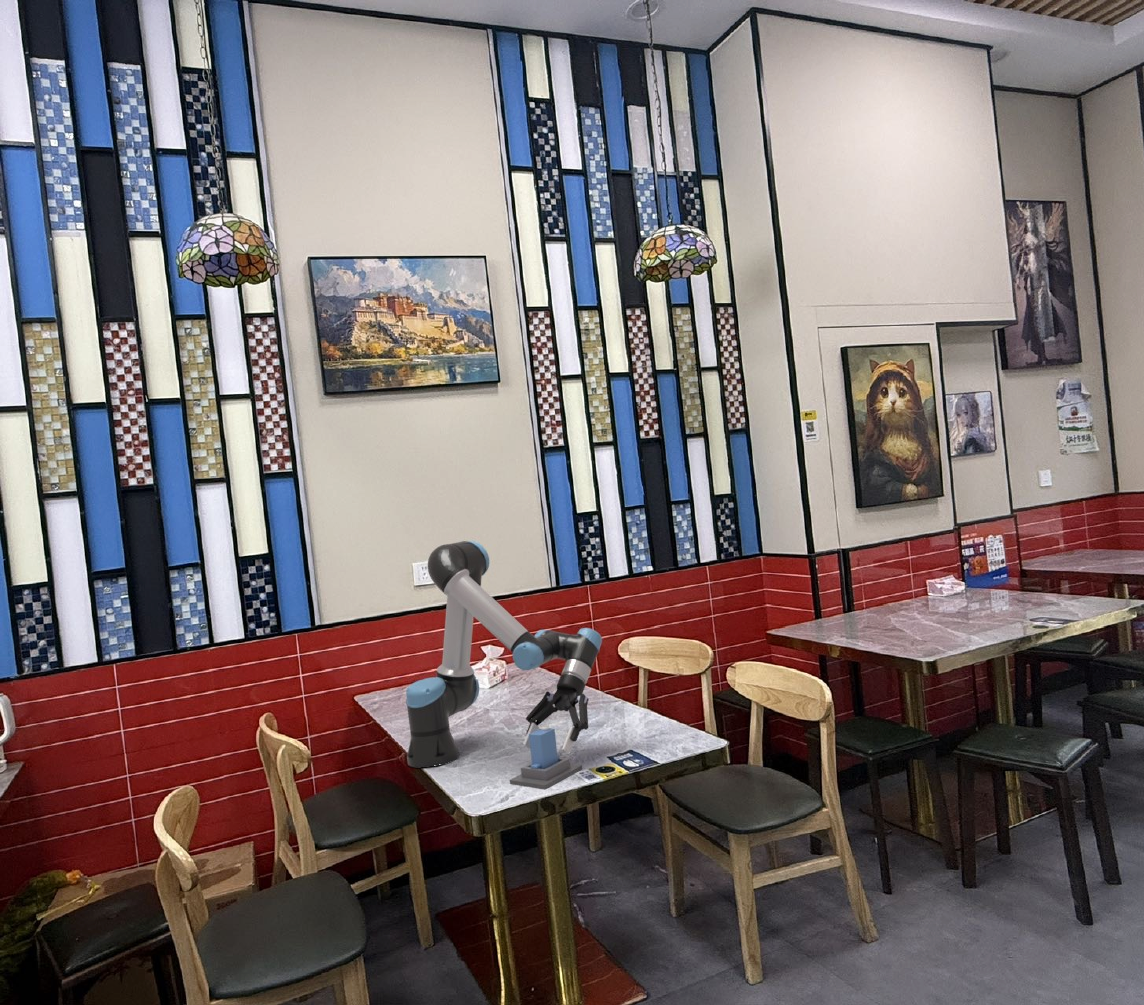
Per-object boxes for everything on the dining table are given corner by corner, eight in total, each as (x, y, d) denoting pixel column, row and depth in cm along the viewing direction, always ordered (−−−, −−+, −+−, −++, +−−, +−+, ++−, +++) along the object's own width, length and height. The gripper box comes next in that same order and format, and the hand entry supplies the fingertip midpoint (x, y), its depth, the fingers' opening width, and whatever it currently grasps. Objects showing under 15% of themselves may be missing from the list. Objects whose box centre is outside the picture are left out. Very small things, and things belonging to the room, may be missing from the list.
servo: (540, 779, 216) (535, 734, 216) (529, 777, 219) (524, 733, 219) (563, 767, 224) (558, 723, 224) (551, 765, 226) (546, 722, 226)
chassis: (545, 789, 211) (543, 775, 211) (510, 783, 219) (508, 770, 219) (582, 768, 224) (580, 755, 224) (548, 764, 231) (546, 751, 231)
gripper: (616, 688, 228) (590, 760, 216) (546, 684, 243) (518, 751, 231) (602, 674, 224) (575, 746, 212) (532, 670, 239) (503, 738, 227)
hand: (545, 749), depth 221 cm, fingers open, 13 cm apart
